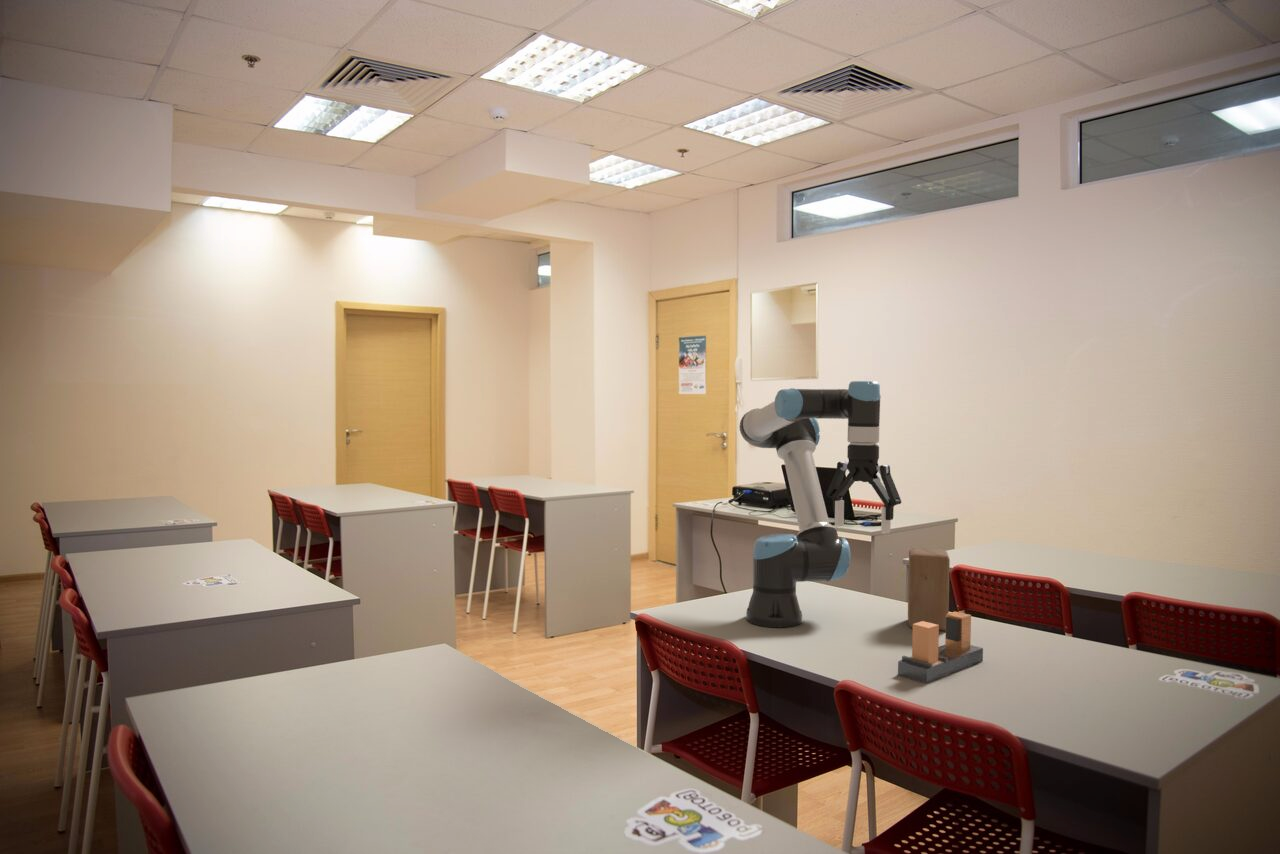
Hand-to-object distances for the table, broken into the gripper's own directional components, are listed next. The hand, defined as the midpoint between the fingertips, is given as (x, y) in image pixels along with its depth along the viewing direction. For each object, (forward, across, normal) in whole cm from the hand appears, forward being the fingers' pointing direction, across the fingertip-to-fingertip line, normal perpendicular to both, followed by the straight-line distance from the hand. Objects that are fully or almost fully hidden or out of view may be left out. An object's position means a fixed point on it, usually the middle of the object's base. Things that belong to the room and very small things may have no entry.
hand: (861, 529), depth 203 cm
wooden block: (+29, -1, -29) cm, 41 cm away
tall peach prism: (+26, -22, +7) cm, 34 cm away
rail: (+29, -22, 0) cm, 36 cm away
